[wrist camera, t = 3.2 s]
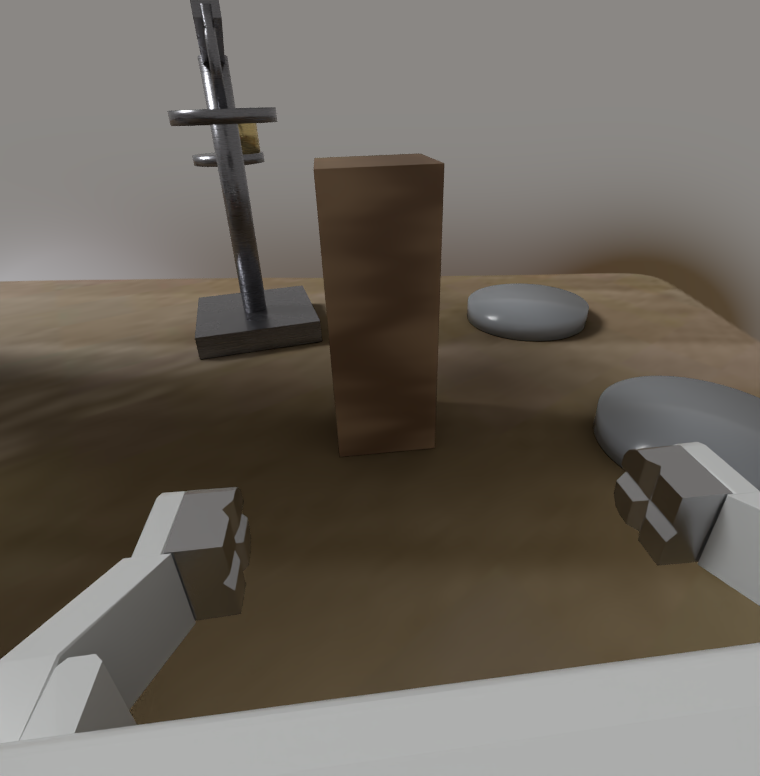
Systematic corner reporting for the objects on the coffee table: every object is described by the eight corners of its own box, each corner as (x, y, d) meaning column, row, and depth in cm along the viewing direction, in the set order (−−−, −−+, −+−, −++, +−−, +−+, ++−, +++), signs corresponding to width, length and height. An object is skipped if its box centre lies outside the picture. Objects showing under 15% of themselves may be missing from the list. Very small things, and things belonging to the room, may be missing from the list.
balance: (197, 395, 27) (88, -28, 18) (204, 296, 42) (146, 37, 33) (336, 373, 29) (303, -22, 20) (296, 285, 44) (266, 37, 34)
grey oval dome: (693, 530, 17) (704, 506, 17) (557, 412, 24) (561, 391, 24) (862, 482, 19) (876, 458, 19) (690, 384, 26) (697, 365, 26)
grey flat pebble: (501, 348, 31) (503, 331, 30) (449, 305, 38) (449, 291, 37) (611, 330, 33) (615, 314, 32) (542, 292, 40) (544, 278, 39)
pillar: (339, 456, 22) (313, 169, 16) (336, 405, 26) (314, 158, 20) (434, 447, 22) (444, 163, 16) (417, 399, 26) (420, 153, 20)
